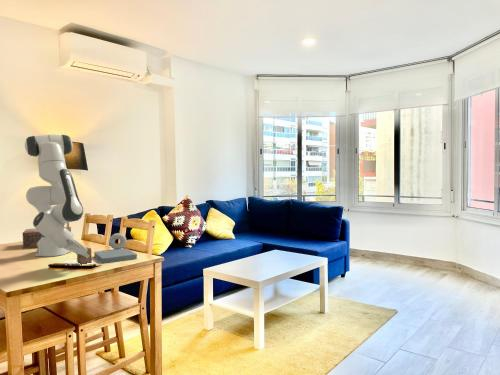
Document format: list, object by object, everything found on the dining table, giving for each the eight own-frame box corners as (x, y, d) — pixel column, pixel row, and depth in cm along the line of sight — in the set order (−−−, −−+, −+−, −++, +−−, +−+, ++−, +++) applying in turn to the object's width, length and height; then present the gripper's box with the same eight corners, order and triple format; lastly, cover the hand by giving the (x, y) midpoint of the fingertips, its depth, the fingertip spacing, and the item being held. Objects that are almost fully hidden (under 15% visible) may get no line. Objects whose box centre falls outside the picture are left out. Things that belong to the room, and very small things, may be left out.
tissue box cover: (71, 241, 257) (70, 226, 256) (69, 246, 244) (69, 230, 243) (27, 244, 248) (26, 229, 247) (23, 249, 234) (22, 232, 234)
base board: (94, 256, 215) (94, 252, 215) (126, 252, 225) (126, 248, 225) (102, 263, 200) (102, 258, 200) (136, 258, 210) (136, 254, 210)
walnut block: (77, 266, 194) (76, 248, 194) (87, 264, 198) (86, 247, 197) (81, 268, 191) (81, 250, 190) (91, 266, 194) (91, 248, 194)
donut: (109, 250, 230) (108, 234, 229) (109, 249, 233) (109, 233, 233) (126, 249, 233) (126, 233, 232) (126, 248, 236) (126, 232, 236)
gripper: (77, 236, 180) (97, 253, 188) (59, 231, 194) (79, 247, 202) (67, 247, 177) (89, 264, 185) (50, 241, 191) (71, 257, 199)
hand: (83, 255), depth 194 cm, fingers open, 8 cm apart
